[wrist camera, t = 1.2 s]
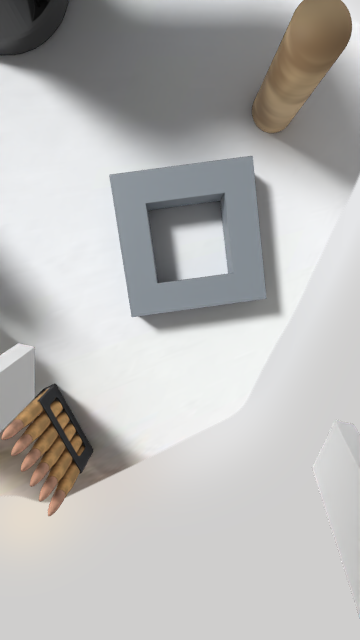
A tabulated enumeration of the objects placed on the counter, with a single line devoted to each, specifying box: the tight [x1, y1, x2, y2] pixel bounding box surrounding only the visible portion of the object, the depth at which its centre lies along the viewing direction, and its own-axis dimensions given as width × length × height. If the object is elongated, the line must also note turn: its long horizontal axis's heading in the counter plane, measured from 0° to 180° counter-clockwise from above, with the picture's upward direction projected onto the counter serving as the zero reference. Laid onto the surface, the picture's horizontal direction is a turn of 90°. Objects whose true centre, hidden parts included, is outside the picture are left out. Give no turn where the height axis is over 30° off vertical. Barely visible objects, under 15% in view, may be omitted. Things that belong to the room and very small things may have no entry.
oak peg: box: [252, 0, 352, 133], centre depth 30 cm, size 5×5×12 cm
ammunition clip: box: [1, 384, 93, 516], centre depth 35 cm, size 11×2×12 cm, turn 26°
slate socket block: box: [110, 156, 266, 317], centre depth 36 cm, size 16×16×4 cm
